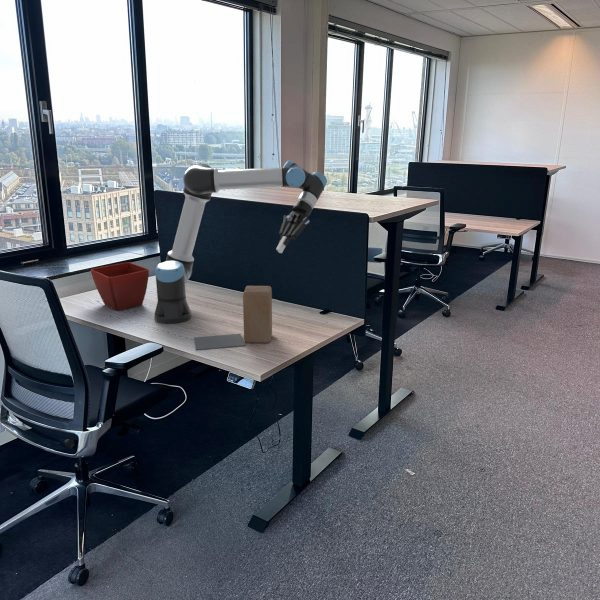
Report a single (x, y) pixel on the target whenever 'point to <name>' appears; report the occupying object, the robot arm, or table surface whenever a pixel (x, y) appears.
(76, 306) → the table surface
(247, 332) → the block
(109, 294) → the plant pot
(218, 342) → the mat
